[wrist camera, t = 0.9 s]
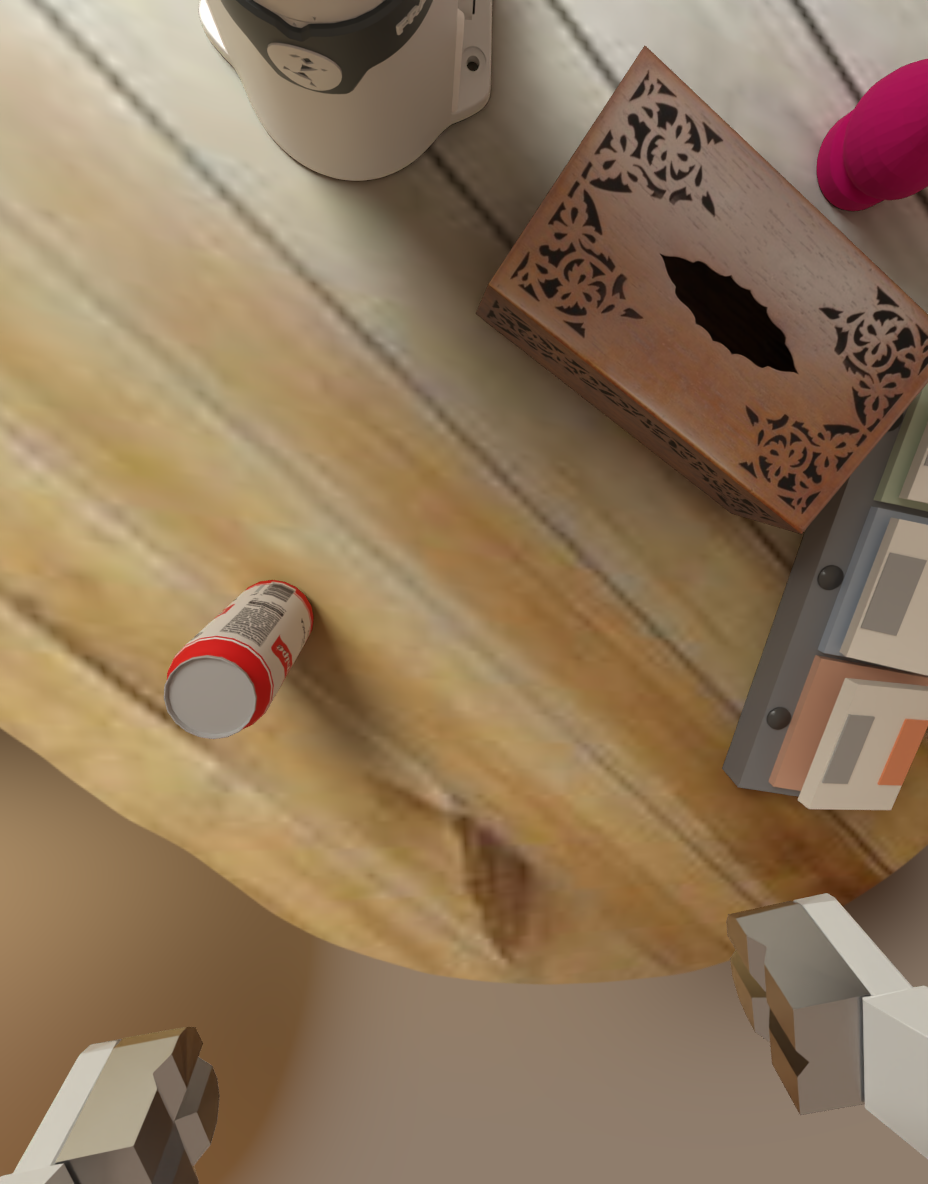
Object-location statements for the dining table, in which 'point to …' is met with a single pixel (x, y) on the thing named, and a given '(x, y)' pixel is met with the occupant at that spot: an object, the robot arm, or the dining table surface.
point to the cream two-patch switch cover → (918, 474)
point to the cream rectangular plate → (894, 603)
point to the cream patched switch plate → (867, 746)
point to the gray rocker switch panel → (824, 618)
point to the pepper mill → (879, 143)
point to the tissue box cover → (710, 306)
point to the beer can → (238, 661)
